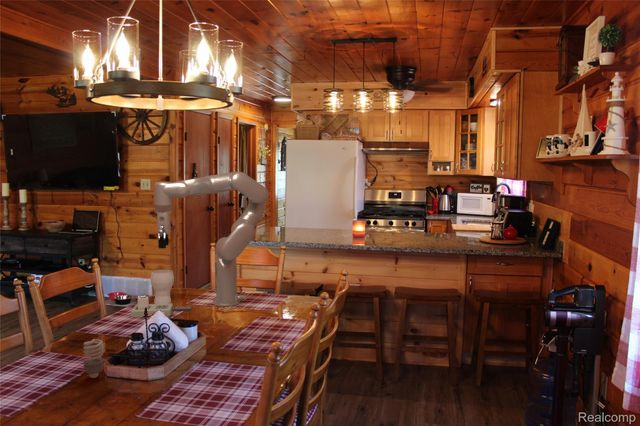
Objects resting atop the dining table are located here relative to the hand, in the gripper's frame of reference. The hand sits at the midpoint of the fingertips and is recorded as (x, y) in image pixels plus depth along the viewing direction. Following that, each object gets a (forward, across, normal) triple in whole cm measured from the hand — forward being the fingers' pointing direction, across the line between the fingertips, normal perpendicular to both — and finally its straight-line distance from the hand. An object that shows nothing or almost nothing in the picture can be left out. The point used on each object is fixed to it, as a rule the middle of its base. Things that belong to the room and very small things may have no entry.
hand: (163, 246), depth 236 cm
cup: (+28, +10, +2) cm, 30 cm away
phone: (+29, -4, -8) cm, 30 cm away
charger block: (+28, -8, +8) cm, 30 cm away
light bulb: (+28, -80, +11) cm, 86 cm away
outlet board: (+28, -8, +4) cm, 30 cm away
